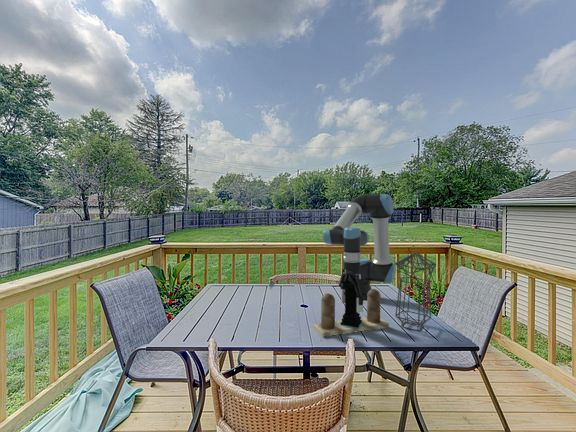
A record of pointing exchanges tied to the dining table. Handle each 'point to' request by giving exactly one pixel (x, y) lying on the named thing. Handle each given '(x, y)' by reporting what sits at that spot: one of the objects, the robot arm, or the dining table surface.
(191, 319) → the dining table surface
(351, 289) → the chess piece
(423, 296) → the geometric lantern
